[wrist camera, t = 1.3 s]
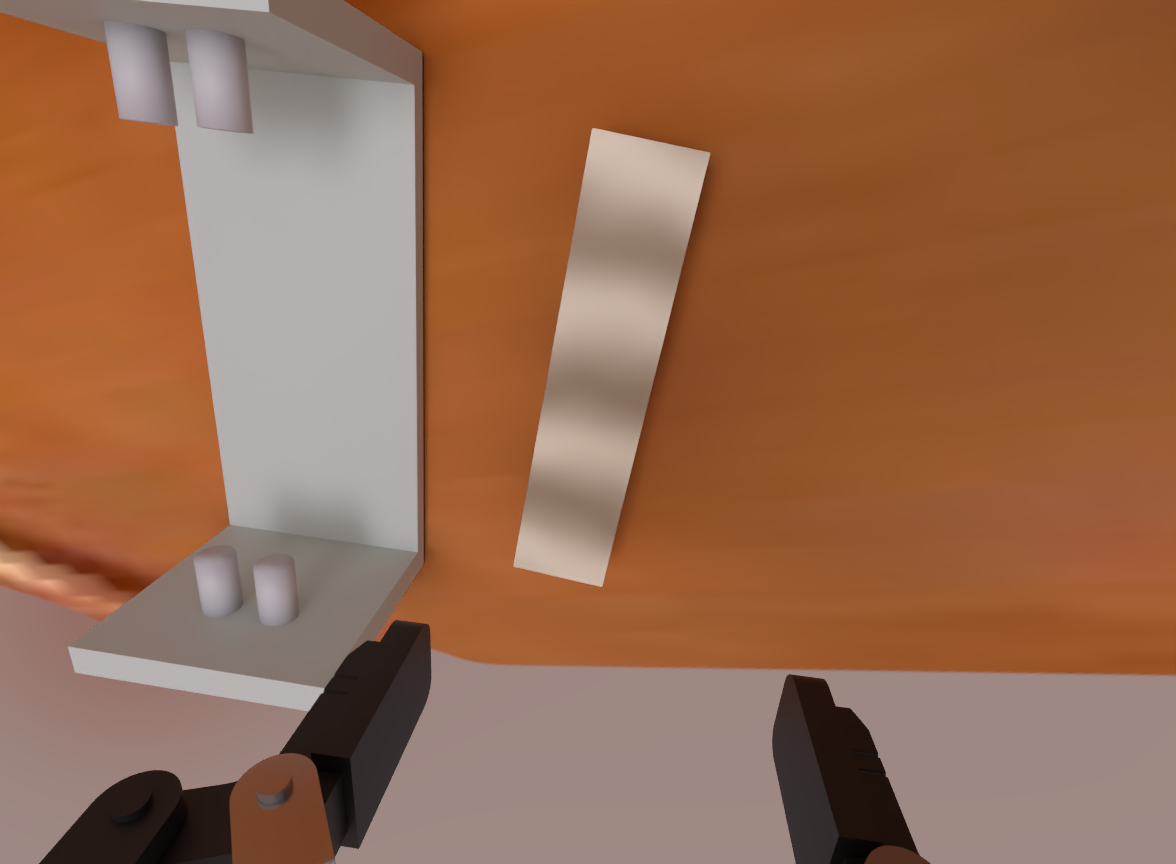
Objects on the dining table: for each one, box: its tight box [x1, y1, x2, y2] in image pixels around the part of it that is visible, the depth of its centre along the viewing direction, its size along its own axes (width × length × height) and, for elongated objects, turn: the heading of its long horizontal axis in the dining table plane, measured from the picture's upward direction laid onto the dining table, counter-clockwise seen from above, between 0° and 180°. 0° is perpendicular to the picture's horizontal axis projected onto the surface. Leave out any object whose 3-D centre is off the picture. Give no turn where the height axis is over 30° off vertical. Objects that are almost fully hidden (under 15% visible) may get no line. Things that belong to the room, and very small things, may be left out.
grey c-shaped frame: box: [0, 0, 424, 711], centre depth 28 cm, size 28×12×12 cm, turn 174°
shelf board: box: [513, 128, 710, 587], centre depth 31 cm, size 22×5×4 cm, turn 169°
